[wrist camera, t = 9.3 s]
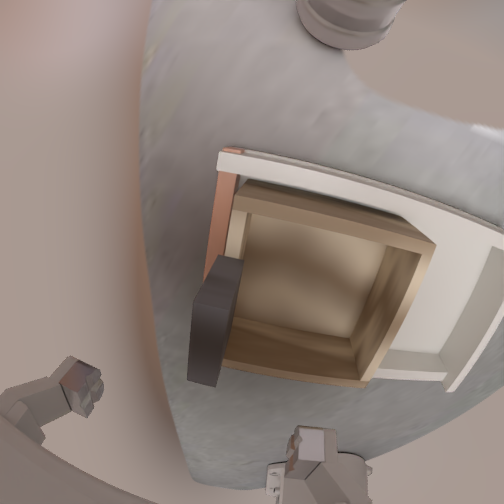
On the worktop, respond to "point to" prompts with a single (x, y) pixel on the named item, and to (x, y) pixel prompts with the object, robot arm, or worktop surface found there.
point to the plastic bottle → (348, 21)
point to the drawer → (305, 288)
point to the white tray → (437, 275)
